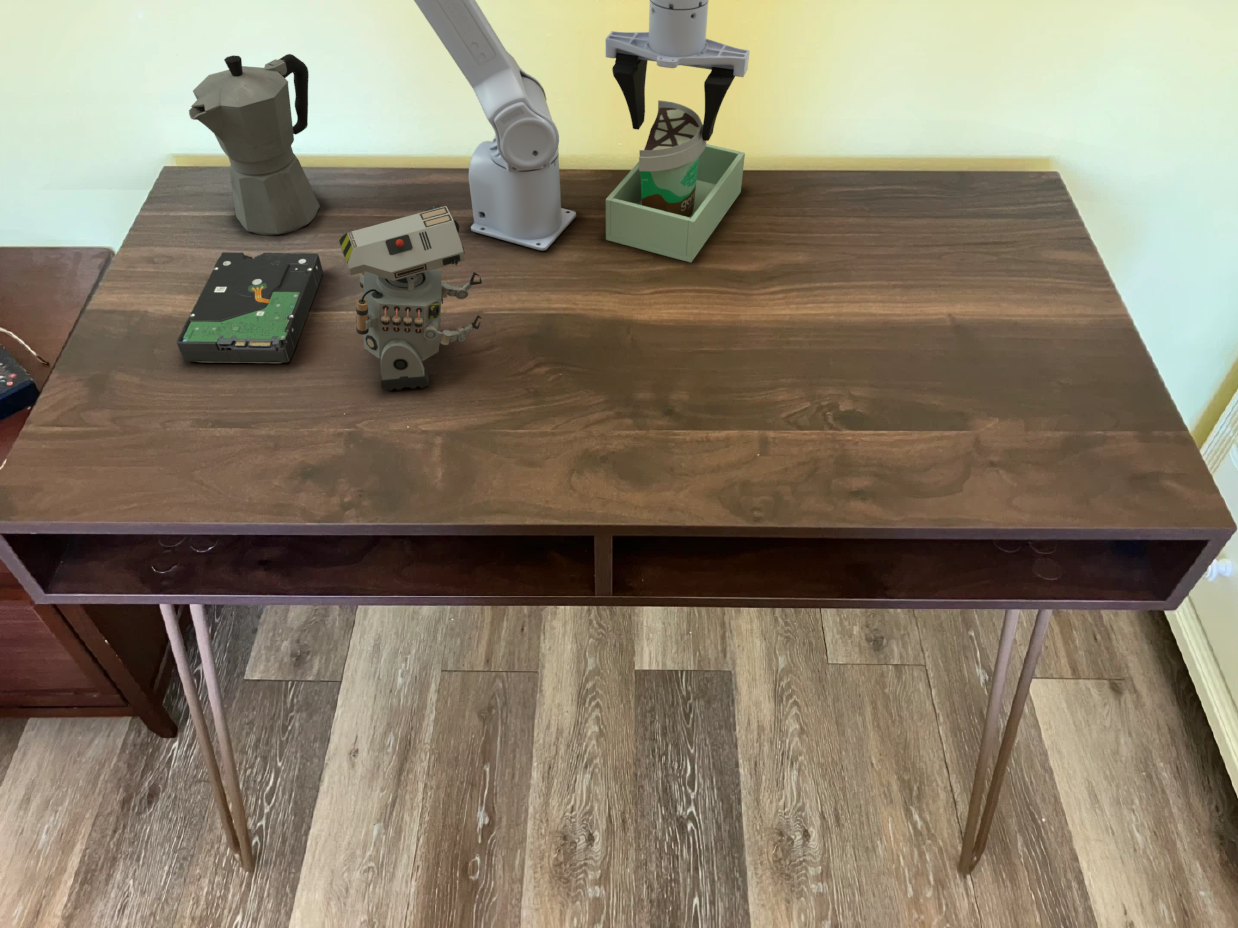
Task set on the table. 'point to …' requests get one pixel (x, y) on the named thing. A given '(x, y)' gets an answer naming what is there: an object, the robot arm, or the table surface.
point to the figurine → (405, 291)
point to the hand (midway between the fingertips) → (672, 130)
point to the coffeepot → (260, 141)
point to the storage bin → (667, 229)
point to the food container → (671, 159)
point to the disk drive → (251, 308)
